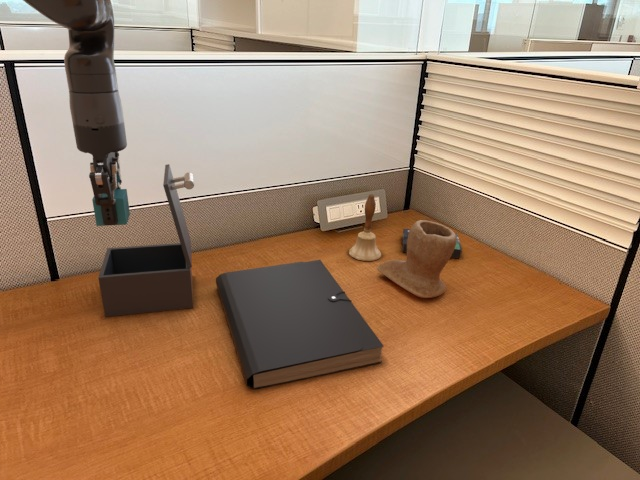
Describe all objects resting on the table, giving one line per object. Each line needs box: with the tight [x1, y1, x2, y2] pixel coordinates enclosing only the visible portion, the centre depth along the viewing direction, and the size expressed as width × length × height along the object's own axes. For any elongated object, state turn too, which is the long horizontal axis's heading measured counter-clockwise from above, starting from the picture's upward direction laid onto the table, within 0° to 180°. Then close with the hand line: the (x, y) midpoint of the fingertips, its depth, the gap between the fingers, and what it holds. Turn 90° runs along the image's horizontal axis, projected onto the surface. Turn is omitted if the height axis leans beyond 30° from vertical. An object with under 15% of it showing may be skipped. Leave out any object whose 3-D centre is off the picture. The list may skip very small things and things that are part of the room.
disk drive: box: [402, 228, 463, 259], centre depth 127 cm, size 10×3×15 cm
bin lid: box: [162, 164, 195, 269], centre depth 95 cm, size 17×13×5 cm
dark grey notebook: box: [215, 259, 384, 390], centre depth 93 cm, size 33×4×24 cm
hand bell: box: [348, 194, 382, 262], centre depth 119 cm, size 8×8×16 cm
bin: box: [97, 242, 194, 318], centre depth 99 cm, size 17×13×9 cm
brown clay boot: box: [376, 219, 457, 299], centre depth 106 cm, size 15×12×15 cm
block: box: [91, 188, 131, 227], centre depth 83 cm, size 5×5×5 cm
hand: (113, 217), depth 83 cm, fingers closed on block, 4 cm apart
